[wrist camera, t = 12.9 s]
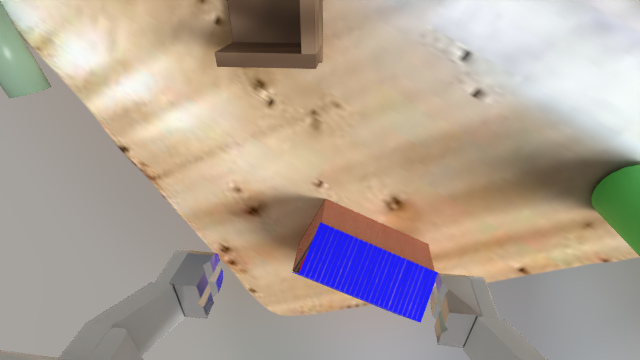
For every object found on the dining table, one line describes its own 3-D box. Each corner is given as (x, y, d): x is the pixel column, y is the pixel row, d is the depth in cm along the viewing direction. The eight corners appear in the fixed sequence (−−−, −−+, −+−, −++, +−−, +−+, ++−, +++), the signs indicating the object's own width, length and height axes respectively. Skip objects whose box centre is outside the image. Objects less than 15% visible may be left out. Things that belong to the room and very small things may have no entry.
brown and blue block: (324, 195, 53) (316, 246, 43) (430, 242, 56) (445, 300, 46) (296, 243, 59) (283, 297, 49) (393, 283, 62) (398, 341, 52)
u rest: (224, -44, 37) (197, -46, 31) (322, -45, 35) (314, -48, 30) (238, 59, 42) (218, 73, 37) (322, 61, 41) (316, 75, 35)
